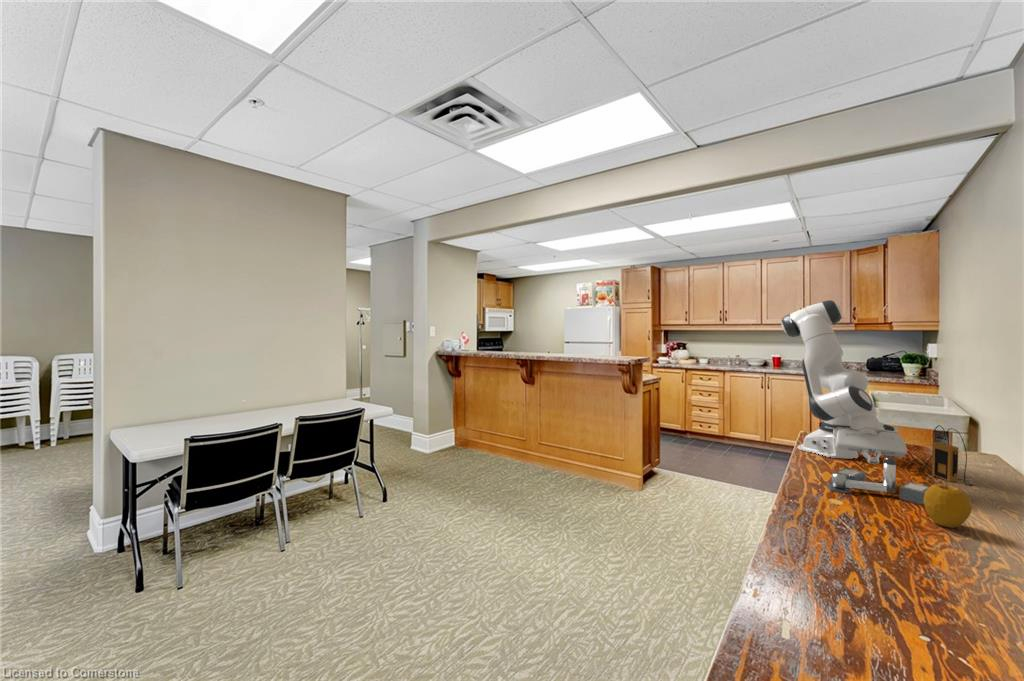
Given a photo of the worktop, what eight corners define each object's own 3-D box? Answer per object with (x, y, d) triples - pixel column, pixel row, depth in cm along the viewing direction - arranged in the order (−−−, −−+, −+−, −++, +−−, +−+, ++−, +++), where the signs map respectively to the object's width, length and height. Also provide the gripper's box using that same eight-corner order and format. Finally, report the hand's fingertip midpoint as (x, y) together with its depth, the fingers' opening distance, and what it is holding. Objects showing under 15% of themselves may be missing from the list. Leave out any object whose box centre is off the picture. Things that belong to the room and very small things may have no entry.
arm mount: (830, 491, 149) (831, 488, 149) (825, 485, 155) (825, 483, 155) (852, 493, 147) (852, 491, 147) (846, 487, 153) (846, 485, 153)
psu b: (834, 483, 157) (834, 471, 157) (846, 478, 163) (846, 467, 163) (854, 488, 152) (854, 476, 152) (865, 483, 158) (865, 471, 157)
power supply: (899, 499, 143) (899, 486, 143) (909, 493, 148) (910, 481, 148) (923, 505, 138) (924, 492, 137) (933, 499, 143) (933, 486, 143)
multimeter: (988, 486, 155) (990, 431, 154) (960, 486, 155) (961, 430, 155) (947, 472, 170) (949, 422, 169) (922, 472, 170) (923, 422, 169)
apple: (971, 525, 123) (973, 485, 123) (970, 536, 117) (971, 493, 117) (924, 514, 131) (926, 476, 130) (920, 524, 124) (922, 483, 124)
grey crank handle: (833, 487, 150) (834, 453, 150) (830, 483, 154) (831, 450, 153) (897, 494, 143) (898, 459, 143) (892, 490, 147) (893, 455, 147)
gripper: (834, 421, 163) (840, 453, 155) (903, 428, 155) (913, 462, 146) (830, 431, 168) (835, 462, 159) (897, 438, 159) (907, 471, 151)
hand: (873, 462), depth 153 cm, fingers closed
